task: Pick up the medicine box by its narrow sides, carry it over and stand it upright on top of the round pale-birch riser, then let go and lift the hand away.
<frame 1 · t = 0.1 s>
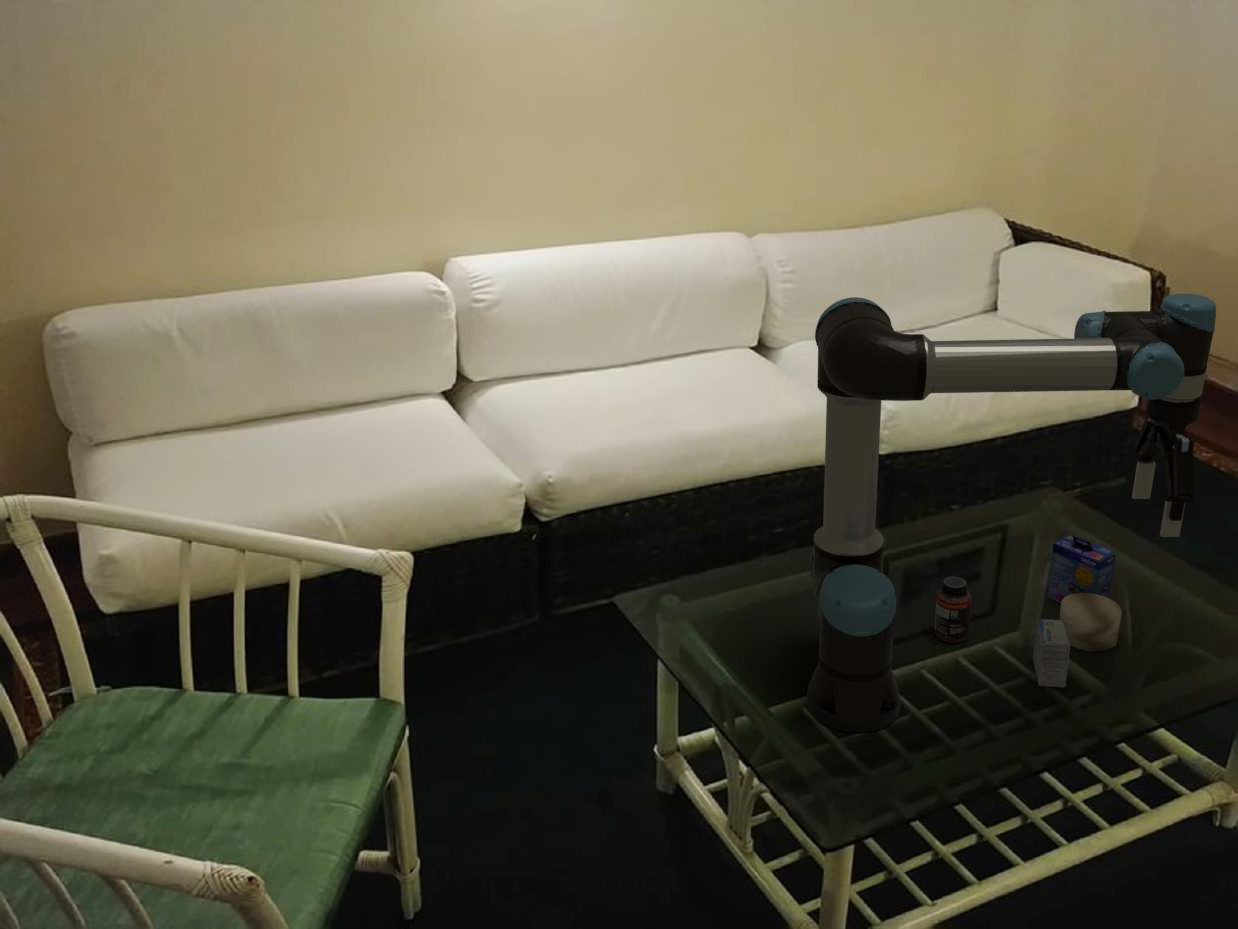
hand: (1154, 516, 184), 28 cm above the table, fingers open, 13 cm apart
birch riser: (1087, 636, 203), on the table
supplement bottle: (950, 636, 205), on the table
ink cartridge box: (1076, 604, 213), on the table
medicine box: (1048, 675, 193), on the table
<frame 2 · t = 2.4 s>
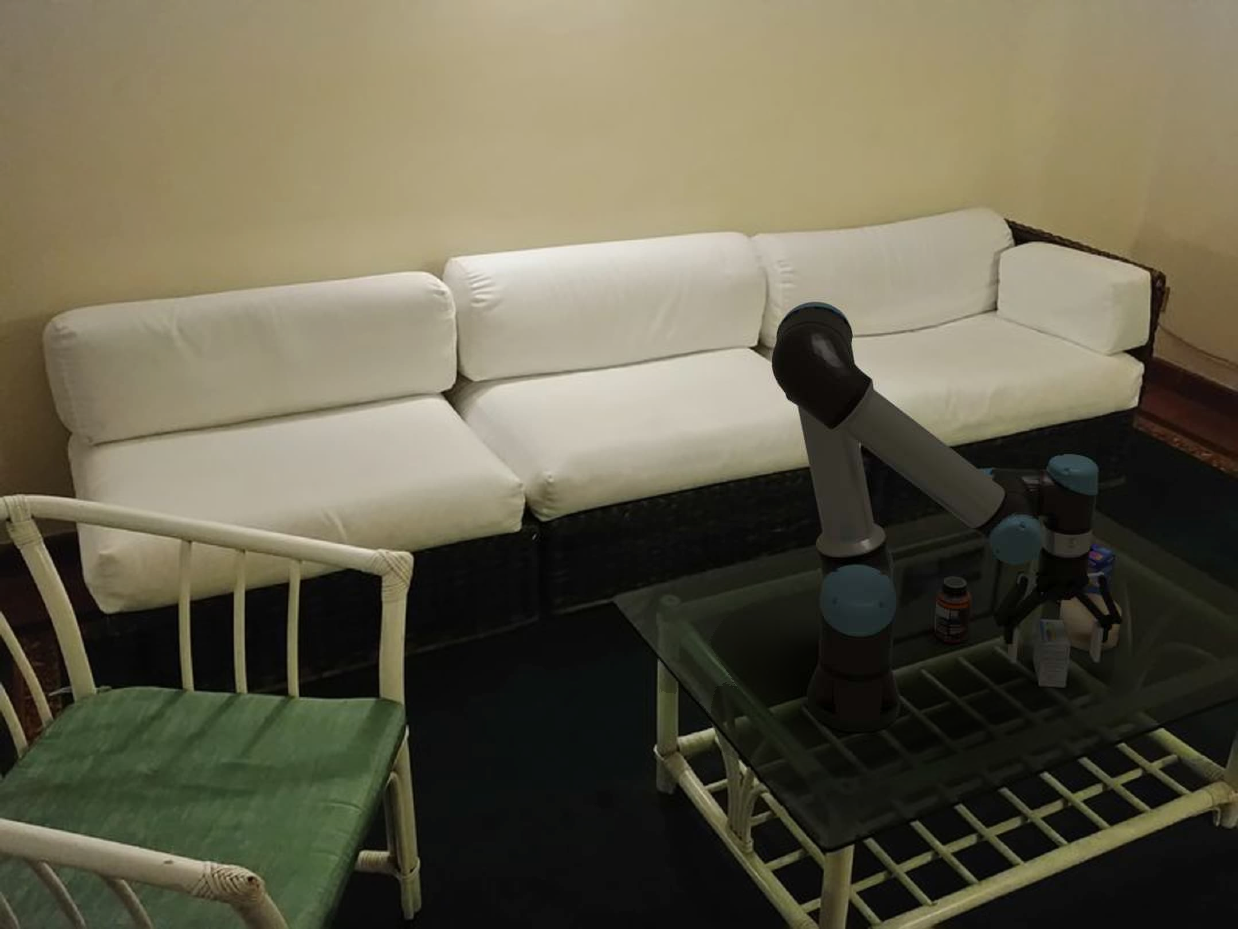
hand: (1052, 658, 192), 3 cm above the table, fingers open, 13 cm apart
nothing on the table moved.
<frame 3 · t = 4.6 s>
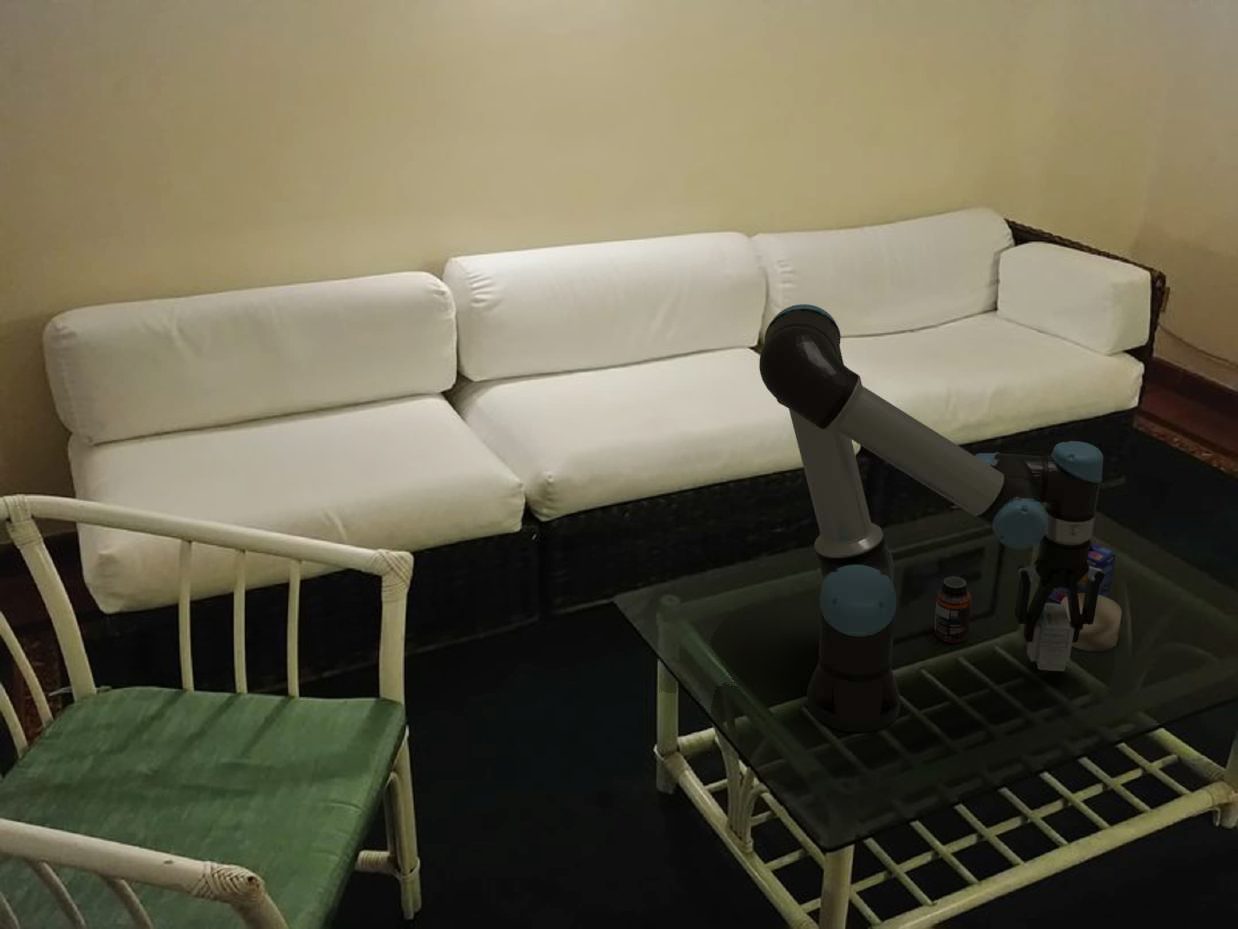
hand: (1047, 656, 192), 4 cm above the table, fingers closed on medicine box, 5 cm apart
medicine box: (1047, 659, 192), point 3 cm above the table, touching gripper
everything else where it was.
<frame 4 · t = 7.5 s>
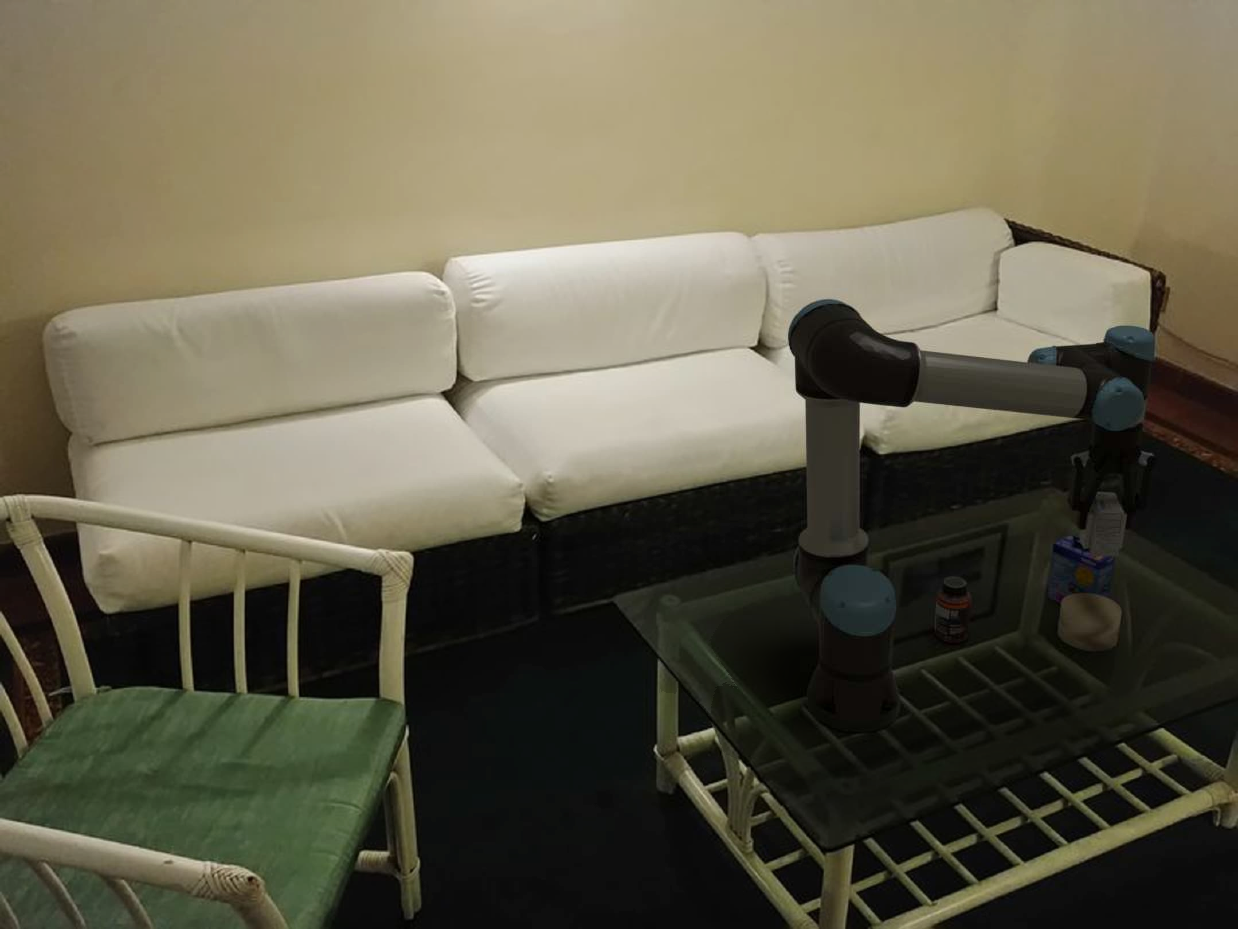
hand: (1100, 544, 195), 19 cm above the table, fingers closed on medicine box, 5 cm apart
medicine box: (1099, 547, 196), point 18 cm above the table, touching gripper
everything else where it was.
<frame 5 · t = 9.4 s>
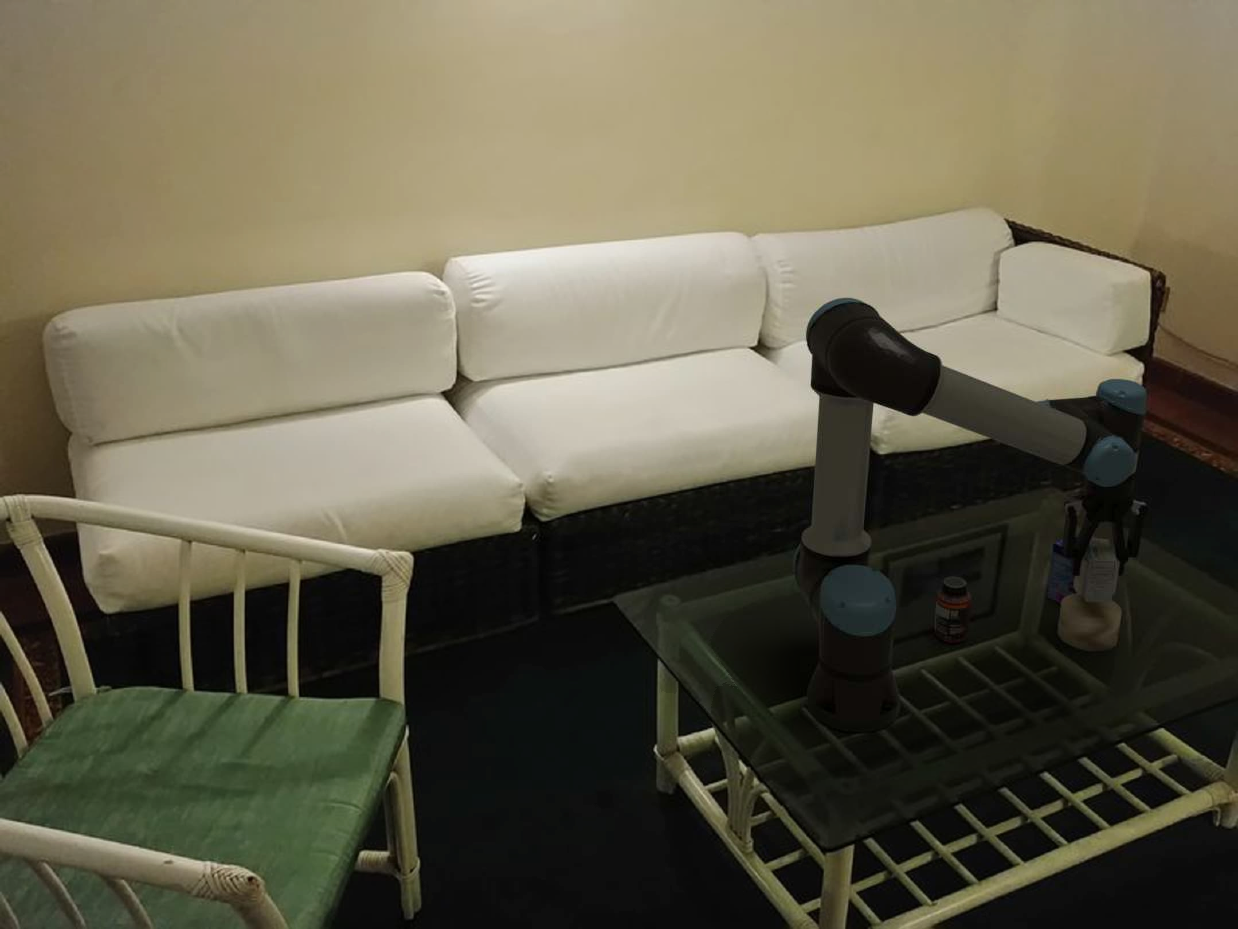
hand: (1094, 590, 199), 9 cm above the table, fingers closed on medicine box, 5 cm apart
medicine box: (1093, 592, 199), point 9 cm above the table, touching gripper
everything else where it was.
when the fingers open (7 cm above the table, at t = 10.7 s): medicine box drops 1 cm, resting on birch riser.
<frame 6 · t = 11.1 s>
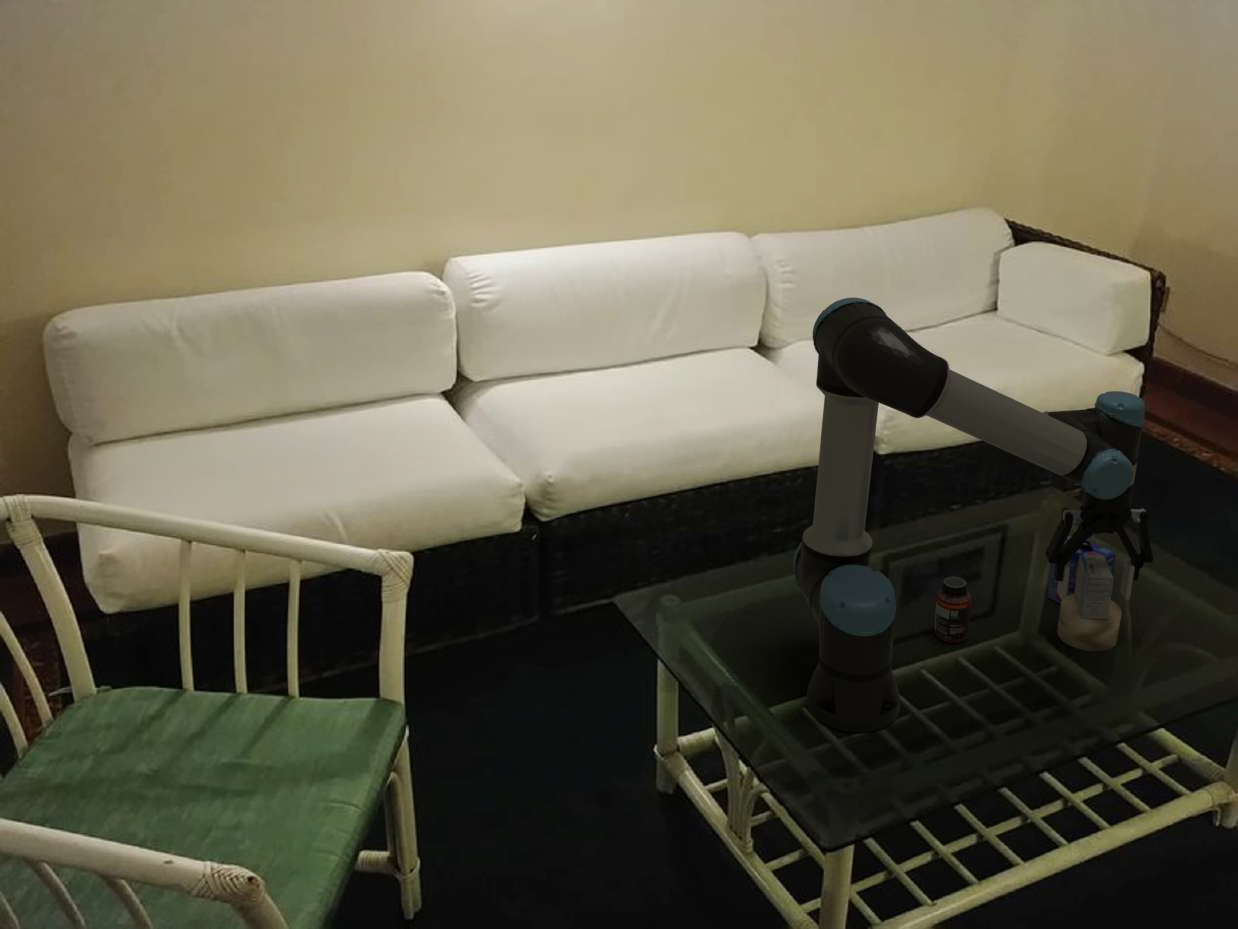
hand: (1092, 595, 200), 8 cm above the table, fingers open, 10 cm apart
birch riser: (1086, 636, 203), on the table, touching medicine box
medicine box: (1090, 609, 201), point 6 cm above the table, touching birch riser
everything else where it was.
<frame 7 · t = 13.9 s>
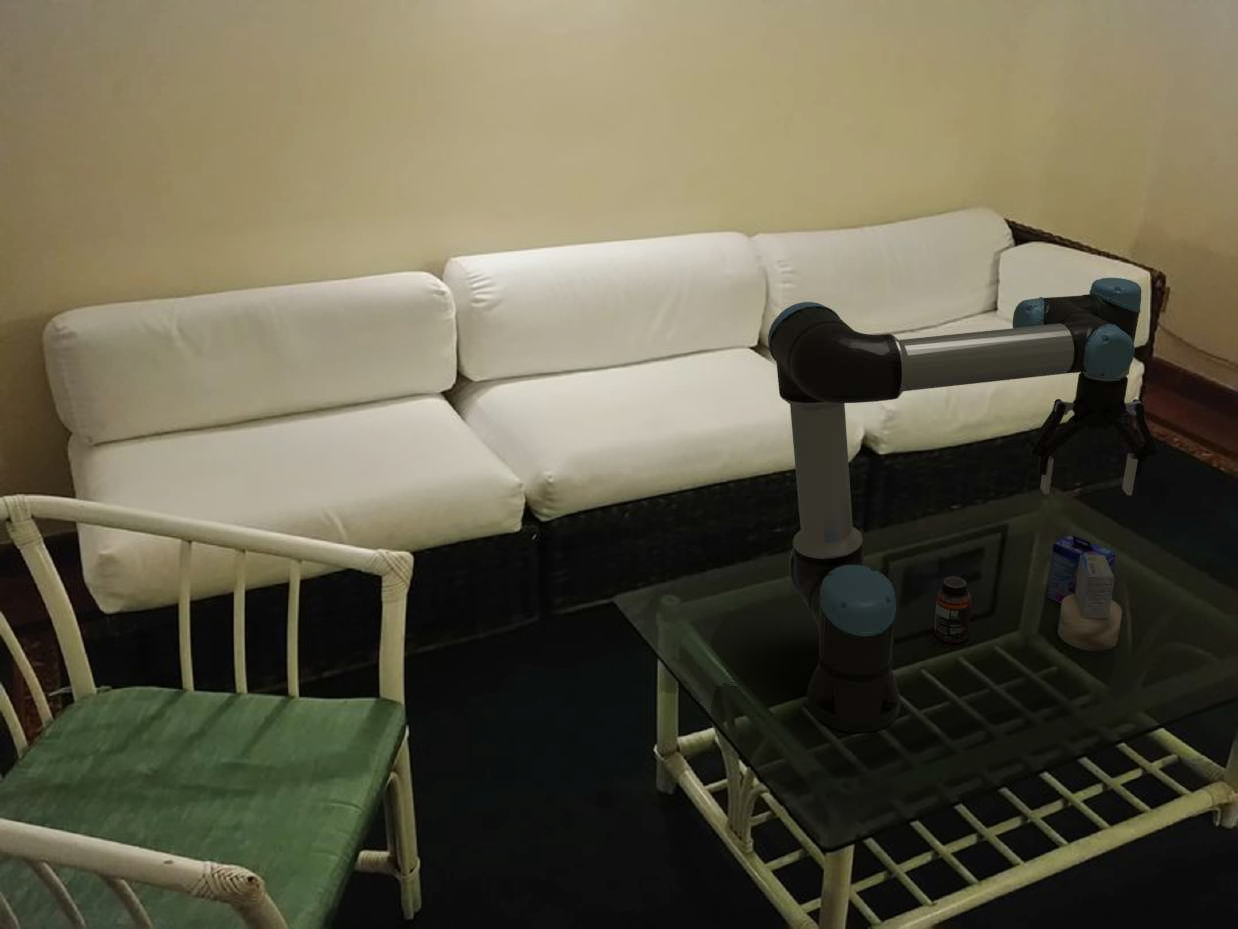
hand: (1085, 491, 193), 28 cm above the table, fingers open, 13 cm apart
nothing on the table moved.
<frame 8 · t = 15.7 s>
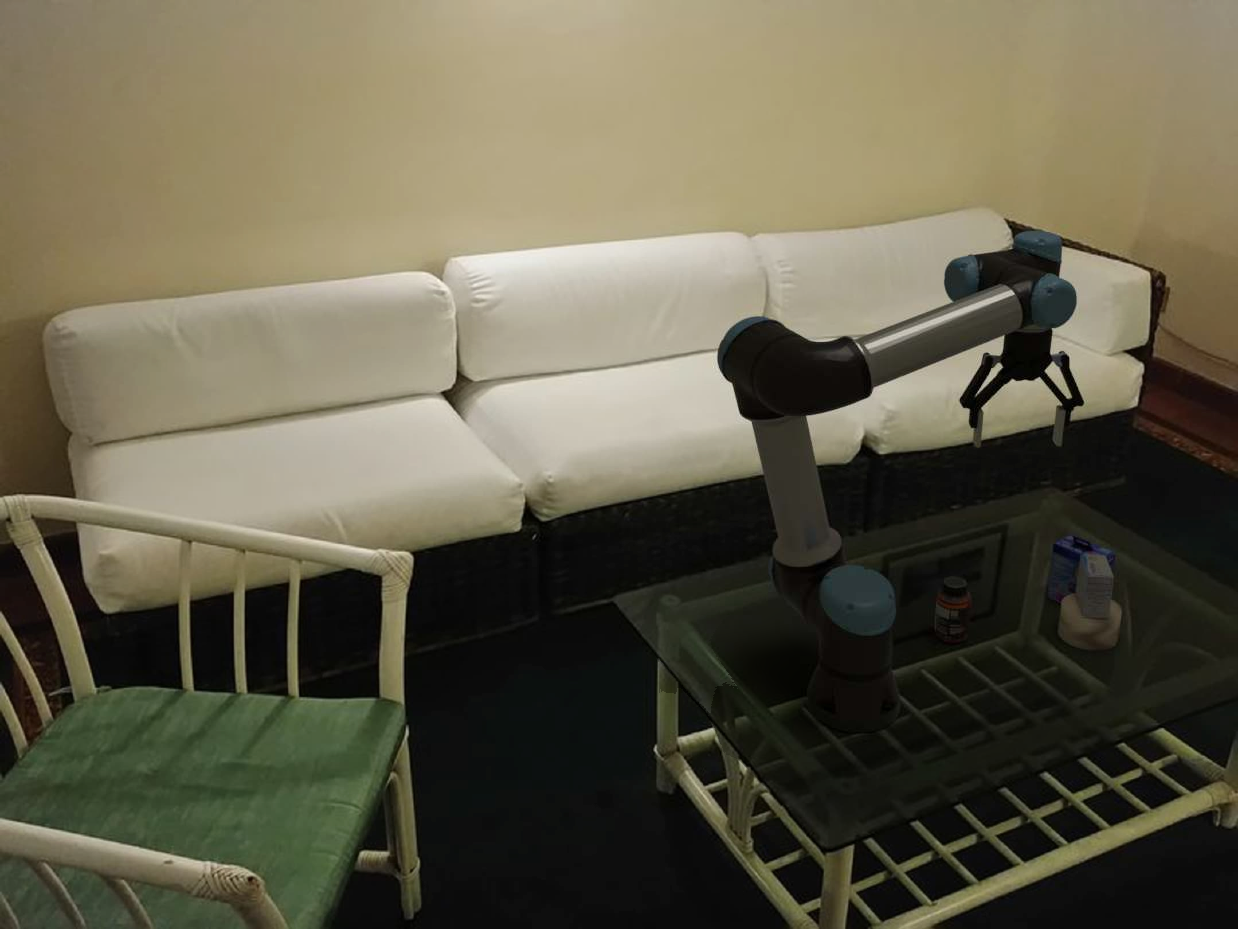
hand: (1016, 443, 196), 35 cm above the table, fingers open, 13 cm apart
nothing on the table moved.
at the end: medicine box inside the target area on the birch riser (0.1 cm from its centre), point 5.8 cm above the birch riser's base; medicine box tilted 0°; the gripper is holding nothing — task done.
